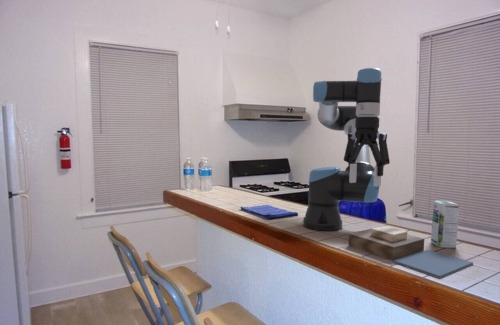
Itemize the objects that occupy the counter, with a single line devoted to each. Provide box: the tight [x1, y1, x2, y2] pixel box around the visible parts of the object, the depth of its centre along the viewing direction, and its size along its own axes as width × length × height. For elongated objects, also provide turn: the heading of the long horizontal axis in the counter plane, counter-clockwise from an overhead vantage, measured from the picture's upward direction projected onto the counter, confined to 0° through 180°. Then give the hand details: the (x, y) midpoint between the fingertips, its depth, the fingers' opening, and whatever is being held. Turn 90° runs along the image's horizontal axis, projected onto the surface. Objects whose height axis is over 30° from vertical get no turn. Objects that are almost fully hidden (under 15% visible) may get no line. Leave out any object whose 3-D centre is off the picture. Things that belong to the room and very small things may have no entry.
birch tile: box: [370, 225, 408, 242], centre depth 107 cm, size 8×7×2 cm
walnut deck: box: [348, 228, 425, 262], centre depth 108 cm, size 16×16×4 cm
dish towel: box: [240, 204, 299, 220], centre depth 157 cm, size 17×24×3 cm
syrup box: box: [430, 200, 460, 249], centre depth 112 cm, size 6×6×14 cm
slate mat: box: [392, 249, 474, 279], centre depth 95 cm, size 13×18×1 cm
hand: (364, 184), depth 114 cm, fingers open, 9 cm apart
